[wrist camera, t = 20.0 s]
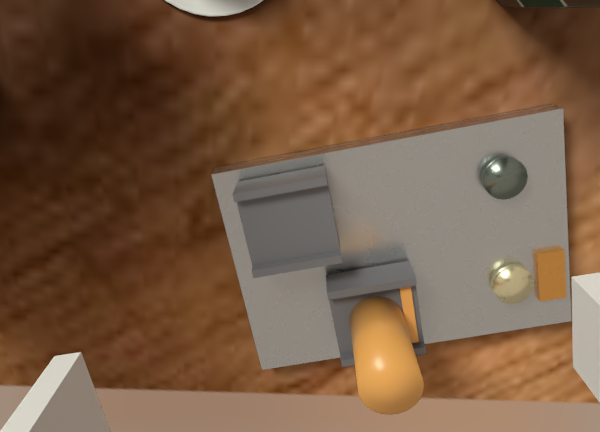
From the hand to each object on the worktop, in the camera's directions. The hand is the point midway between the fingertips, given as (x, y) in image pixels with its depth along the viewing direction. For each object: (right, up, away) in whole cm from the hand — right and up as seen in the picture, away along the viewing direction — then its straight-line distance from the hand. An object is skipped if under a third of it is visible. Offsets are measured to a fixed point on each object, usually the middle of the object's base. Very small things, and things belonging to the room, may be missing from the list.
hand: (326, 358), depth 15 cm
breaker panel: (+7, +2, +30) cm, 30 cm away
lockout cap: (+5, -4, +27) cm, 28 cm away
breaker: (-1, +4, +26) cm, 27 cm away
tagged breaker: (+5, -3, +29) cm, 29 cm away
